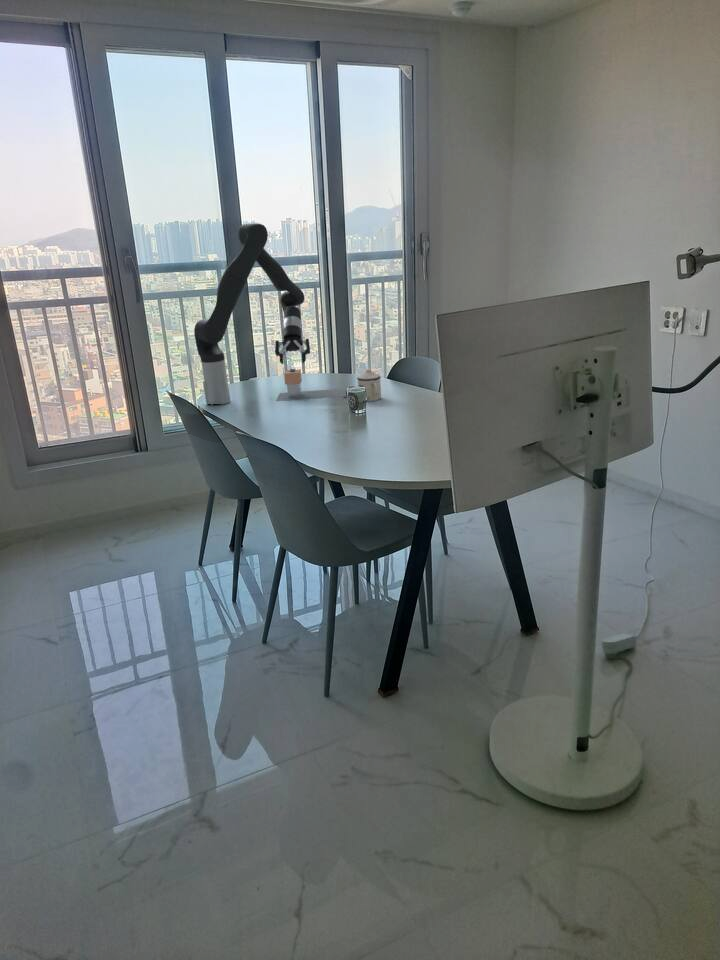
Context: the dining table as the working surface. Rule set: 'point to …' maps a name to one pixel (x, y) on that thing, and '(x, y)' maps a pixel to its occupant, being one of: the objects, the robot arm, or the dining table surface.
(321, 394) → the slate mat
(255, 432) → the dining table surface
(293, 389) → the steel tin
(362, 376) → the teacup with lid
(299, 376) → the cap lid
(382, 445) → the dining table surface
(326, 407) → the dining table surface
